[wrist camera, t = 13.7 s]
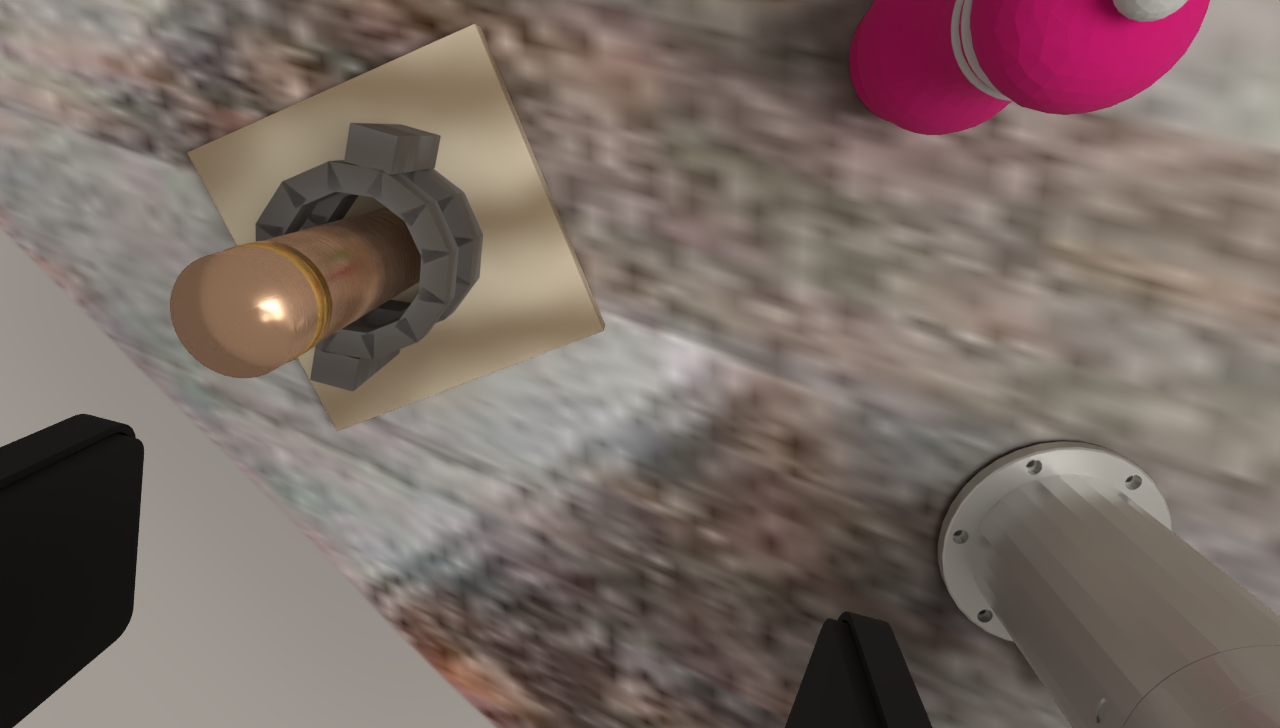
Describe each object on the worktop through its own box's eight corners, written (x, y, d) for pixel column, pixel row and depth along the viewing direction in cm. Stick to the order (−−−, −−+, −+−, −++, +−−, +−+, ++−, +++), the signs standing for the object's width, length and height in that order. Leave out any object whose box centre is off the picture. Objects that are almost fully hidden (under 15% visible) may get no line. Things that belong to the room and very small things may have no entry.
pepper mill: (825, 125, 38) (985, 118, 19) (854, -36, 36) (1066, -227, 17) (969, 142, 38) (1276, 153, 19) (1006, -17, 36) (1394, -187, 17)
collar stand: (605, 325, 41) (591, 365, 34) (345, 423, 44) (282, 480, 36) (480, 27, 37) (435, 2, 30) (201, 152, 39) (97, 156, 32)
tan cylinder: (456, 267, 39) (321, 353, 24) (386, 295, 40) (211, 397, 25) (421, 191, 38) (257, 232, 23) (349, 221, 39) (143, 280, 24)
